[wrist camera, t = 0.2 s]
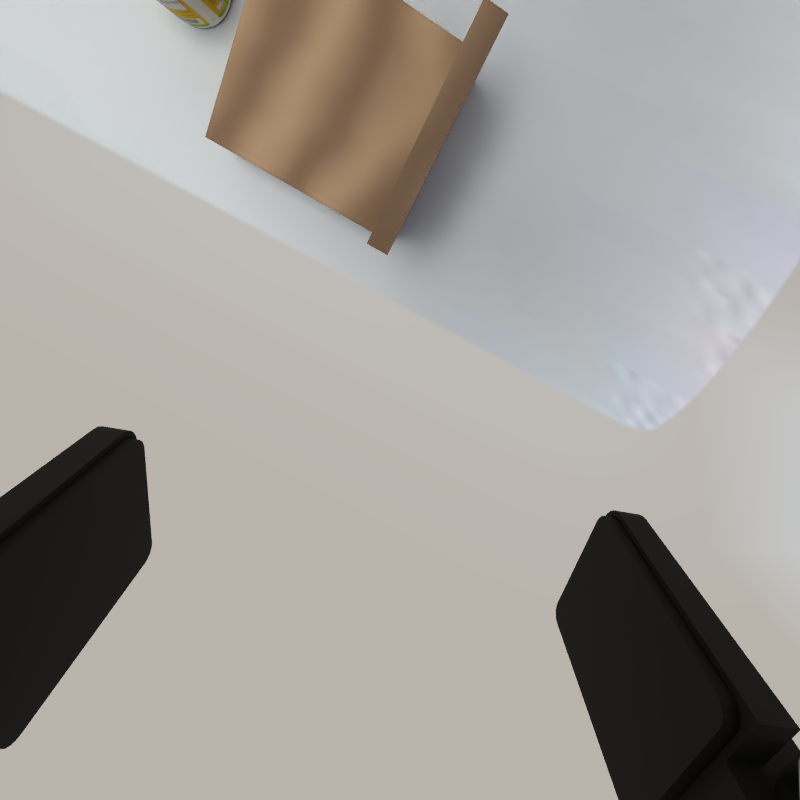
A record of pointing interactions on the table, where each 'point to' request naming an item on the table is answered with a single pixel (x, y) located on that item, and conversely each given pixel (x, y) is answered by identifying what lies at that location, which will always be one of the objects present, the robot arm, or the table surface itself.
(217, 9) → the supplement bottle
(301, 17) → the shelf stand
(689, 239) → the table surface
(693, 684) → the robot arm
